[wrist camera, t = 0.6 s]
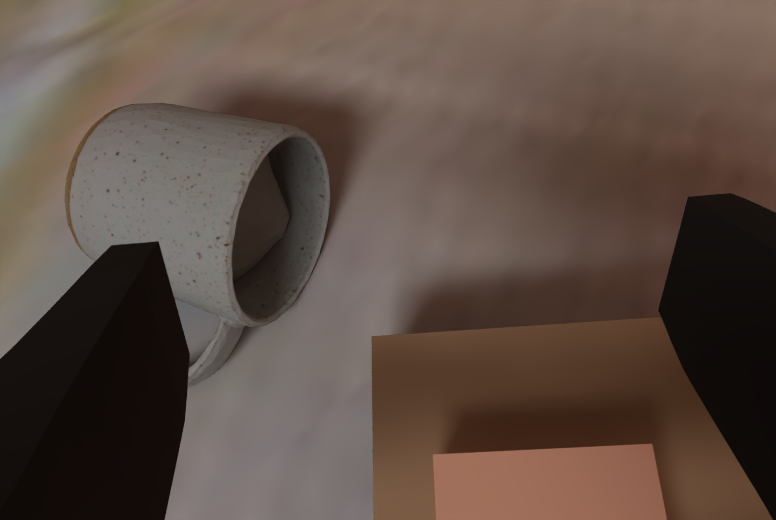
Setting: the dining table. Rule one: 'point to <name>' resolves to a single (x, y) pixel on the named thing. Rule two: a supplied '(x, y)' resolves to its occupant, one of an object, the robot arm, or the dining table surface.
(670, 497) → the deck
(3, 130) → the dining table surface
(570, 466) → the salmon pink panel
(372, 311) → the dining table surface
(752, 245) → the robot arm
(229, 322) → the grey cylinder
